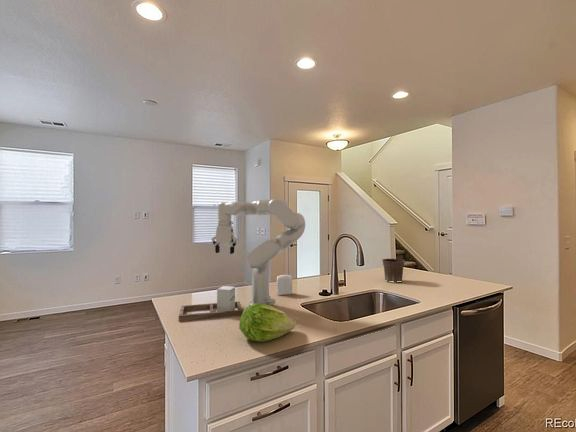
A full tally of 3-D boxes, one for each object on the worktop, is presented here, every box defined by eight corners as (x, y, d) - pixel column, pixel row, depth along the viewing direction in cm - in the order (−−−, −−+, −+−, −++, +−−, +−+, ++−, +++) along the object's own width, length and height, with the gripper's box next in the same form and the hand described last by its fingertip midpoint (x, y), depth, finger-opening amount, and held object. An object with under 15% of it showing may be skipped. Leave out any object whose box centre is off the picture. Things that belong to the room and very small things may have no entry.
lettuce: (279, 336, 135) (295, 355, 121) (231, 326, 124) (243, 347, 110) (291, 306, 136) (309, 321, 122) (245, 294, 125) (258, 310, 111)
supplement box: (229, 314, 150) (229, 289, 150) (216, 313, 151) (216, 289, 151) (235, 310, 157) (235, 286, 157) (222, 308, 159) (222, 285, 159)
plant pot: (383, 283, 217) (383, 261, 217) (380, 278, 233) (380, 258, 233) (407, 284, 214) (407, 262, 214) (402, 279, 230) (402, 258, 230)
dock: (242, 315, 149) (242, 310, 148) (178, 321, 141) (178, 316, 141) (239, 305, 164) (239, 301, 164) (181, 310, 156) (181, 305, 156)
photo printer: (277, 295, 184) (277, 276, 184) (275, 294, 188) (275, 274, 188) (293, 294, 187) (293, 275, 187) (291, 292, 191) (291, 273, 191)
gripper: (241, 223, 172) (241, 253, 172) (215, 223, 177) (215, 251, 178) (234, 224, 164) (234, 254, 165) (208, 223, 170) (208, 253, 171)
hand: (224, 253), depth 171 cm, fingers open, 9 cm apart
